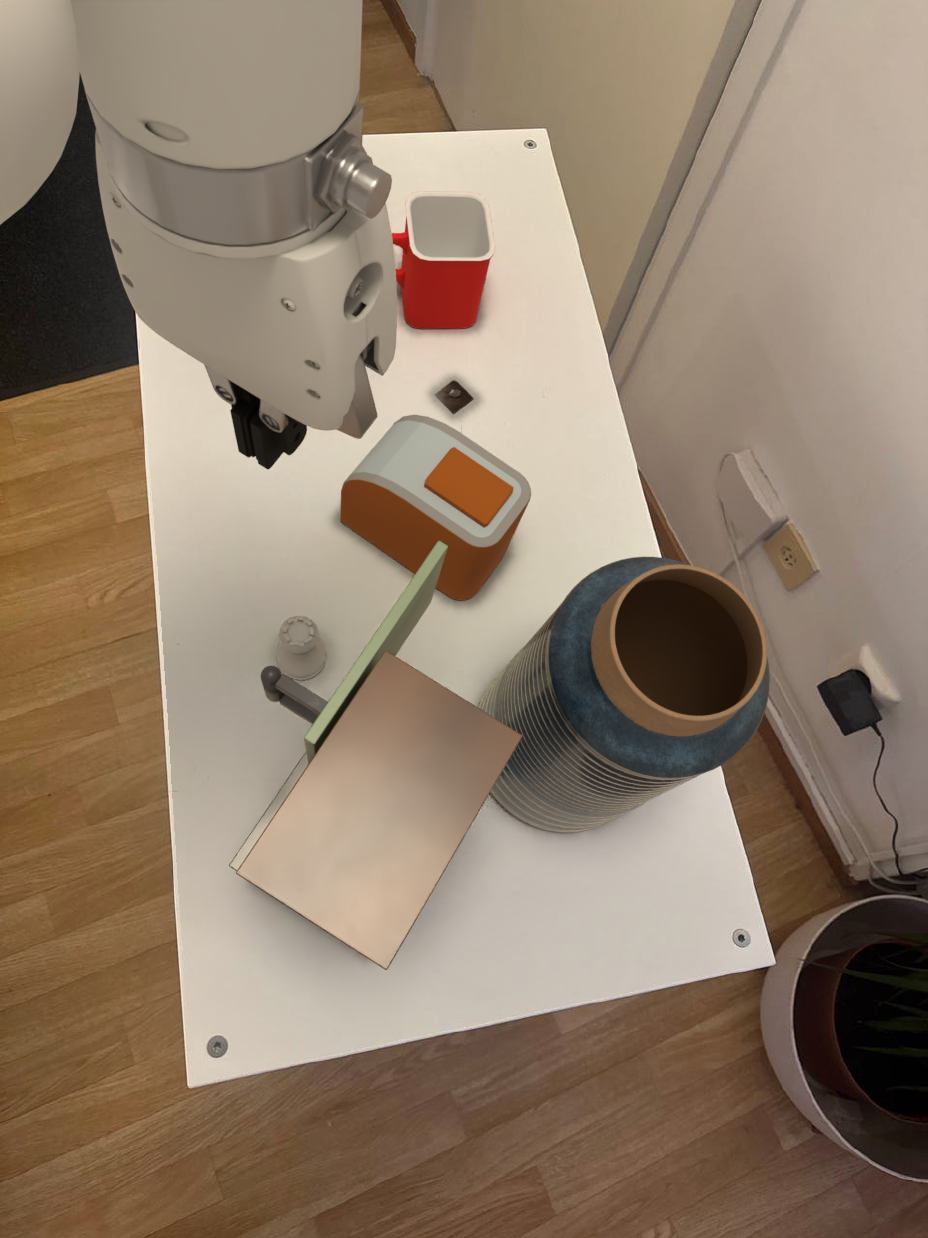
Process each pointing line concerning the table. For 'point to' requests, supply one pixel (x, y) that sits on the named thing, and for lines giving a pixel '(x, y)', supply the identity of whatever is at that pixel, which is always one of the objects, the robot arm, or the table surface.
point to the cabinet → (378, 809)
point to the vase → (629, 692)
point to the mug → (444, 258)
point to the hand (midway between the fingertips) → (272, 439)
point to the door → (384, 639)
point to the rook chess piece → (300, 648)
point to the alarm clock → (436, 502)
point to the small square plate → (454, 396)
